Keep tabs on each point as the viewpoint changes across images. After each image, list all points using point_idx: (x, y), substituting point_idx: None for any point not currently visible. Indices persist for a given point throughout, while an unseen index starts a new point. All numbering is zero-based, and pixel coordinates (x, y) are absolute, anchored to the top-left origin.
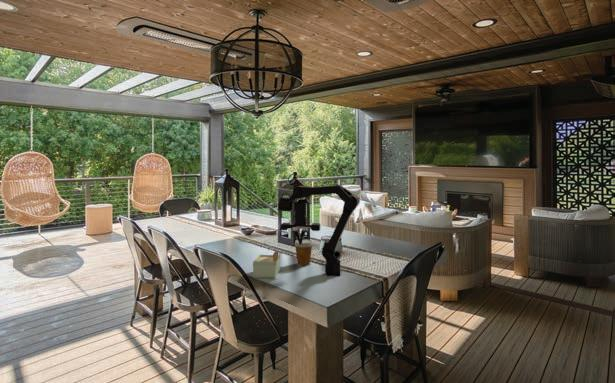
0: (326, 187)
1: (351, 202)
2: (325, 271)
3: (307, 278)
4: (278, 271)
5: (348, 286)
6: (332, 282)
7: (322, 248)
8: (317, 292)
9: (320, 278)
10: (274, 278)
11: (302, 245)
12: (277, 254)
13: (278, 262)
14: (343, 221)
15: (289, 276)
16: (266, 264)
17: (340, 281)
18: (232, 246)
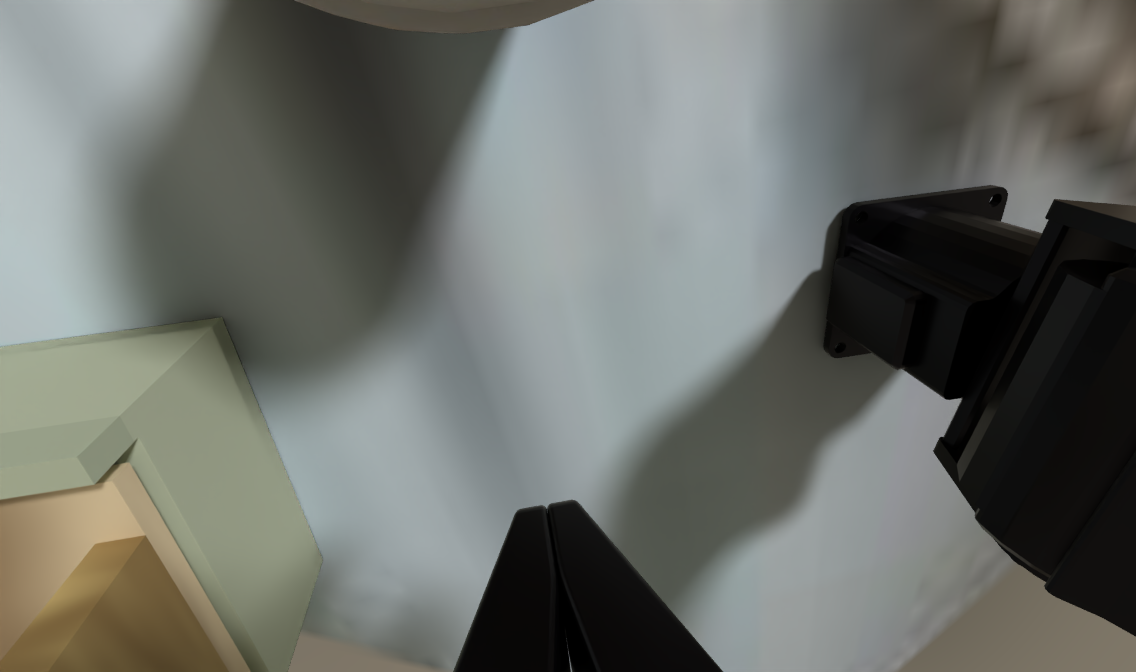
0: None
1: None
2: (835, 325)
3: (638, 465)
4: (250, 413)
5: (965, 524)
6: (860, 489)
7: (1085, 605)
8: (743, 661)
9: (762, 433)
10: (318, 562)
11: (479, 7)
12: (126, 667)
13: (192, 490)
14: None
15: (441, 466)
16: None
17: (929, 452)
18: None
